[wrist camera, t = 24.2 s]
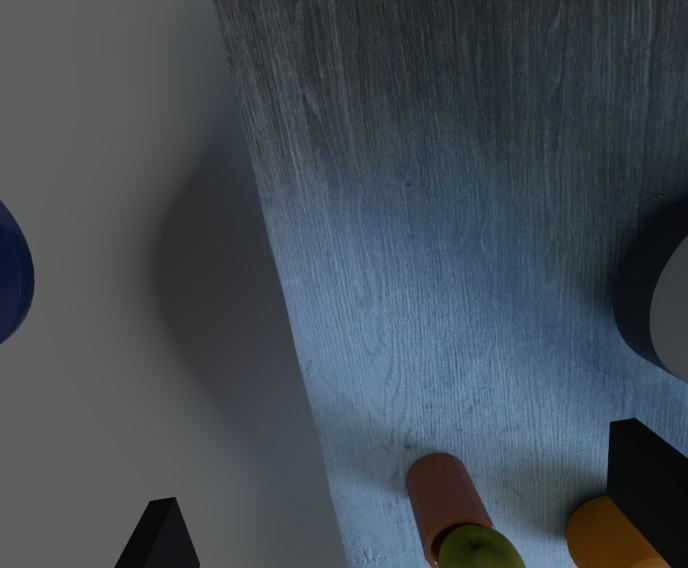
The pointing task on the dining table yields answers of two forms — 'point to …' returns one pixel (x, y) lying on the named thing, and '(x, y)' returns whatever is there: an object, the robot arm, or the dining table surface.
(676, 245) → the planter
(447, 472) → the cup
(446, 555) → the apple
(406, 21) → the dining table surface
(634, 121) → the dining table surface
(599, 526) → the fruit
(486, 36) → the dining table surface
